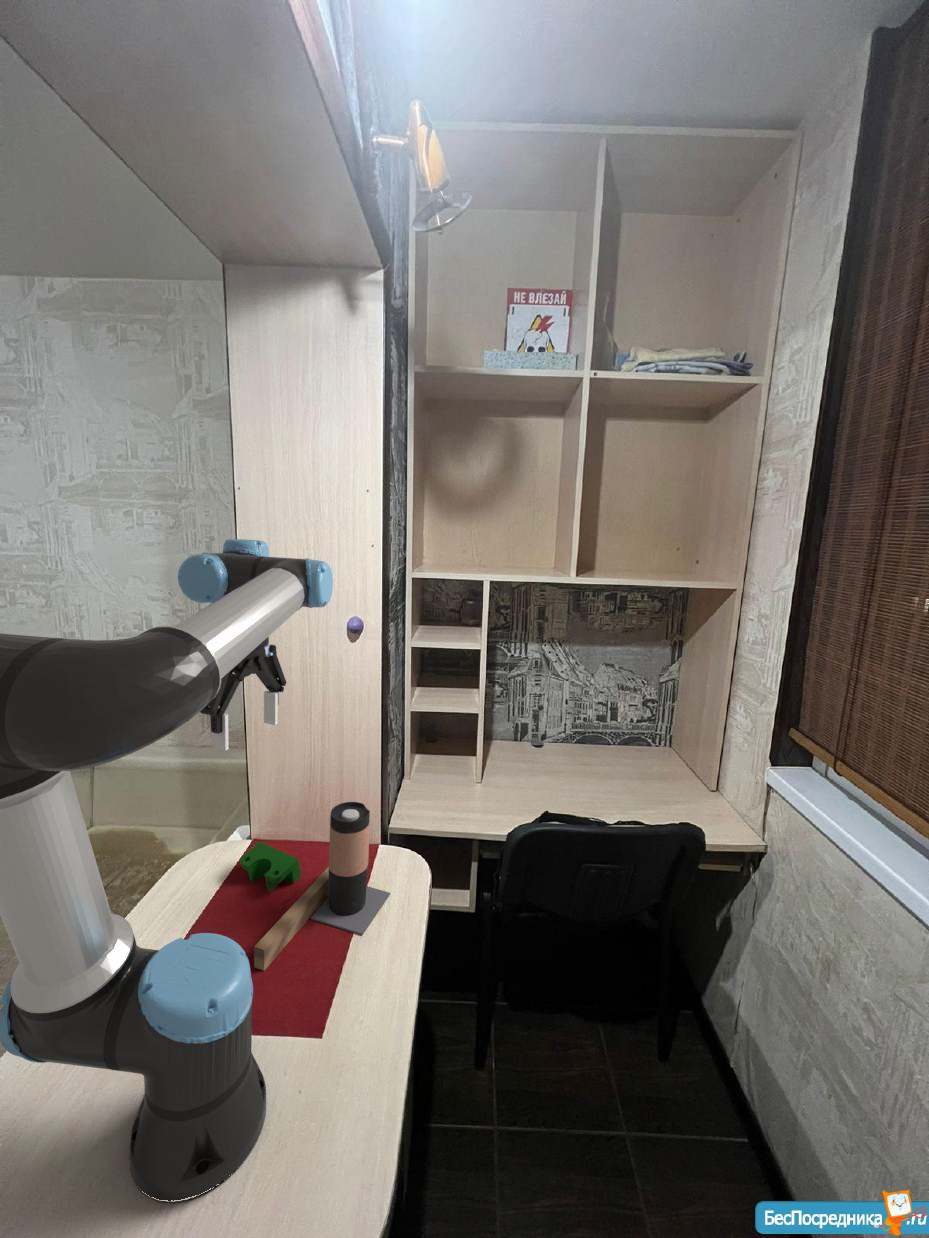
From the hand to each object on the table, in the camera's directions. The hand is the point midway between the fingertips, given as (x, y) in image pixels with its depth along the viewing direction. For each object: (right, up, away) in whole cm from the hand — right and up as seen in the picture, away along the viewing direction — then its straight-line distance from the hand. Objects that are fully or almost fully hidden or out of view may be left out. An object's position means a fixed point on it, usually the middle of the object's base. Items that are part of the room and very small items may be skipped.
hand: (247, 735), depth 99 cm
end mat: (+19, -36, +6) cm, 40 cm away
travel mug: (+18, -35, +6) cm, 40 cm away
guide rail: (+10, -36, +2) cm, 37 cm away
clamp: (0, -34, +12) cm, 36 cm away
